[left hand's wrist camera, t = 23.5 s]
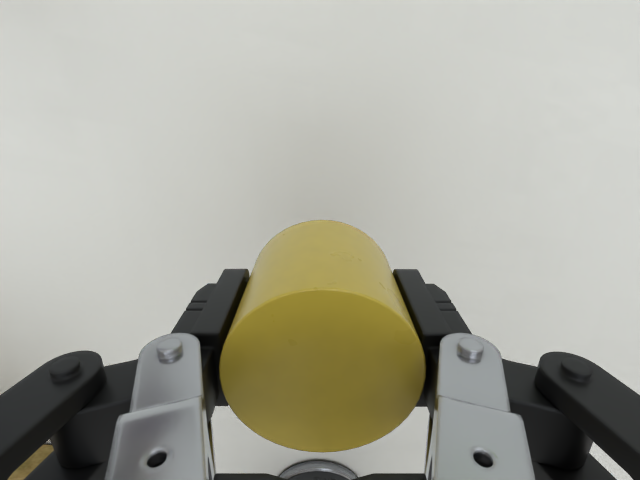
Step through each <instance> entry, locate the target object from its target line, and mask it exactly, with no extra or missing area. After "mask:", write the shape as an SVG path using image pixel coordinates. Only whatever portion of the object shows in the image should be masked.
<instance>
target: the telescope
mask: <svg viewBox="0 0 640 480" xmlns="http://www.w3.org/2000/svg"><path fill="white" fill-rule="evenodd" d="M53 451H54V449H53V446H52V445H44V444H43V445H42V446H41V447H40V448H39V449H38V450H37V451H36V452H35V453H33V454H32V455H31V456H30V457H29V458H28V459H27V460H26V461H25V462H24V463H23V464H22V465H20V466H19V467H18V468H17V469H16V470H15V471H14V472H13V473H12V474H11V476H10V477H9V478H8V480H24V479H25V478H26V477H27V476H28V475H29V474H30V473H31V472H32V471H33V470H34V469H35V468H36V467H37V466H38V465H39V464H40V463H41V462H42V461H43V460H44V459H45V458H46V457H47V456H48V455H49V454H50V453H51V452H53Z"/></svg>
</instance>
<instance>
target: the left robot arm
mask: <svg viewBox="0 0 640 480" xmlns="http://www.w3.org/2000/svg"><path fill="white" fill-rule="evenodd" d="M393 276H394V278H395V281H396V283H397V286H398V288H399V291H400V293H401V296H402V298H403V301H404V303H405V305H406V308H407V310H408V313H409V315H410V318H411V320H412V323H413V325H414V328H415V330H416V332H417V335H418V337H419V340H420V342H421V345H422V348H423V351H424V355H425V362H426V378H425V383H424V387H423V391H422V393H421V396H420V399H419V400H418V402H417V404H416V406H415V407H428V410H429V413H430V415H429V422H428V430H427V442H426V453H425V465H424V474H370V475H366V476H363V477H359V478H357V476H356V475H355V474H354V473H353V472H352V471H350V470H349V469H347V468H345V467H343V466H341V465H339V464H335V463H332V462H326V461H310V462H304V463H300V464H297V465H294V466H292V467H290V468H289V469H287V470H286V471H284V472H283V473H282V474H281V475H280V476H279V477H277V476H274V475H270V474H216V465H215V454H214V442H213V430H212V422H211V417H212V414H213V411H214V408H215V406H228V405H229V404H228V402H227V401H226V398H225V396H224V393H223V391H222V387H221V382H220V376H219V364H220V356H221V352H222V349H223V346H224V343H225V340H226V338H227V335H228V333H229V330H230V327H231V325H232V322H233V320H234V317H235V314H236V312H237V309H238V307H239V304H240V302H241V299H242V296H243V294H244V291H245V289H246V286H247V283H248V281H249V278H250V277H249V271H248V269H225V270H224V271H223V273H222V275H221V277H220V278H219V280H218V282H217V284H207V285H205V286H204V287H203V288H201V289H200V290H198V291H197V292H196V294H195V295H194V297H193V299H192V300H191V303H189V305H188V307H187V308H186V311H184V313H183V315H182V316H181V318H180V319H179V321H178V323H177V324H176V326H175V327H174V329H173V331H172V332H171V334H167V335H164V336H161V337H159V338H156V339H154V340H153V341H151V342H150V343H148V344H147V345H146V346H145V347H144V348H143V349H142V350H141V352H140V354H139V358H138V359H136V360H133V361H128V362H124V363H119V364H114V365H110V366H105V367H104V366H103V362H102V359H101V356H100V355H99V354H97V353H96V352H92V351H76V352H71V353H68V354H64V355H61V356H59V357H57V358H54V359H52V360H50V361H49V362H47V363H45V364H44V365H42V366H41V367H39V368H38V369H37V370H35V371H34V372H32V373H31V374H30V375H28V376H27V377H25V378H24V379H23V380H21V381H20V382H18V383H17V384H15V385H14V386H13V387H11V388H10V389H8V390H7V391H6V392H4V393H3V394H1V395H0V480H8V478H9V477H10V476H11V474H12V473H13V472H14V471H15V470H16V469H17V468H18V467H19V466H20V465H22V464H23V463H24V462H25V461H26V460H27V459H28V458H29V457H30V456H31V455H32V454H33V453H35V452H36V451H37V450H38V449H39V448H40V447H41V446H42V445H43V444H44V443H45V442H46V441H48V440H49V439H50V441H51V444H52V446H53V449H54V451H53V452H51V453H50V454H49V455H48V456H47V457H46V458H45V459H44V460H43V461H42V462H41V463H40V464H39V465H38V466H37V467H36V468H35V469H34V470H33V471H32V472H31V473H30V474H29V475H28V476H27V477H26V478H25V479H24V480H616V479H615V478H614V477H613V476H612V475H611V474H610V473H609V472H608V471H607V470H606V469H605V468H604V467H603V466H602V465H601V464H600V463H599V462H598V461H597V460H596V459H595V458H594V457H593V456H592V455H591V454H590V453H589V451H590V448H591V446H592V443H593V441H594V442H595V443H596V444H597V445H598V446H599V447H600V448H601V449H602V450H603V451H604V452H605V453H607V454H608V455H609V456H610V457H611V458H612V459H613V460H614V461H615V462H616V463H617V464H618V465H620V466H621V467H622V468H623V469H624V470H625V471H626V472H627V473H628V474H629V475H630V476H631V477H632V479H633V480H640V395H639V394H637V393H636V392H634V391H633V390H632V389H630V388H629V387H627V386H626V385H625V384H623V383H622V382H620V381H619V380H617V379H616V378H615V377H613V376H612V375H610V374H609V373H608V372H606V371H605V370H603V369H602V368H601V367H599V366H598V365H596V364H595V363H593V362H591V361H589V360H587V359H585V358H583V357H580V356H577V355H574V354H570V353H565V352H549V353H546V354H544V355H542V357H541V358H540V361H539V364H538V367H535V366H531V365H526V364H521V363H516V362H512V361H508V360H505V359H502V358H501V354H500V352H499V350H498V349H497V348H496V347H495V346H494V345H493V344H492V343H490V342H489V341H487V340H486V339H484V338H481V337H479V336H476V335H473V334H472V333H471V332H470V330H469V329H468V327H467V325H466V324H465V322H464V321H463V319H462V318H461V316H460V314H459V313H458V311H456V308H455V306H454V305H453V303H451V300H450V299H449V297H448V295H447V294H446V292H445V291H443V290H442V289H440V288H439V287H438V286H436V285H435V284H425V282H424V280H423V279H422V277H421V275H420V273H419V271H418V270H417V269H394V271H393Z"/></svg>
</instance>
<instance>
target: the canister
mask: <svg viewBox="0 0 640 480" xmlns="http://www.w3.org/2000/svg"><path fill="white" fill-rule="evenodd" d="M219 376H220V382H221V387H222V391H223V393H224V396H225V398H226V401H227V402H228V404H229V406H230V408H231V409H232V411H233V412H234V413H235V414H236V416H237V417H238V418H239V419H240V420H241V421H242V422H243V423H244V424H245V425H246V426H247V427H249V428H250V429H251V430H252V431H254V432H255V433H257V434H258V435H260V436H262V437H263V438H265V439H267V440H269V441H271V442H274V443H276V444H279V445H282V446H285V447H288V448H292V449H296V450H302V451H309V452H336V451H343V450H349V449H353V448H357V447H360V446H363V445H366V444H369V443H371V442H373V441H375V440H378V439H380V438H381V437H383V436H385V435H386V434H388V433H390V432H391V431H392V430H394V429H395V428H396V427H398V426H399V425H400V424H401V423H402V422H403V421H404V420H405V419H406V418H407V417H408V416H409V414H410V413H411V412H412V410H413V409H414V408H415V406H416V404H417V402H418V400H419V399H420V396H421V393H422V391H423V387H424V383H425V378H426V362H425V355H424V351H423V348H422V345H421V342H420V340H419V337H418V335H417V332H416V330H415V328H414V325H413V323H412V320H411V318H410V315H409V313H408V310H407V308H406V305H405V303H404V301H403V298H402V296H401V293H400V291H399V288H398V286H397V283H396V281H395V278H394V276H393V273H392V271H391V269H390V266H389V264H388V261H387V259H386V257H385V255H384V253H383V252H382V250H381V249H380V247H379V246H378V245H377V244H376V243H375V241H374V240H373V239H371V238H370V237H369V236H368V235H367V234H365V233H364V232H362V231H360V230H359V229H357V228H355V227H353V226H350V225H348V224H344V223H341V222H336V221H330V220H314V221H307V222H302V223H299V224H296V225H293V226H291V227H289V228H287V229H285V230H283V231H282V232H280V233H279V234H277V235H276V236H275V237H273V238H272V239H271V240H270V241H269V242H268V243H267V244H266V246H265V247H264V248H263V250H262V251H261V253H260V254H259V256H258V258H257V260H256V263H255V265H254V268H253V270H252V273H251V276H250V278H249V281H248V283H247V286H246V289H245V291H244V294H243V296H242V299H241V302H240V304H239V307H238V309H237V312H236V314H235V317H234V320H233V322H232V325H231V327H230V330H229V333H228V335H227V338H226V340H225V343H224V346H223V349H222V352H221V356H220V364H219Z"/></svg>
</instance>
